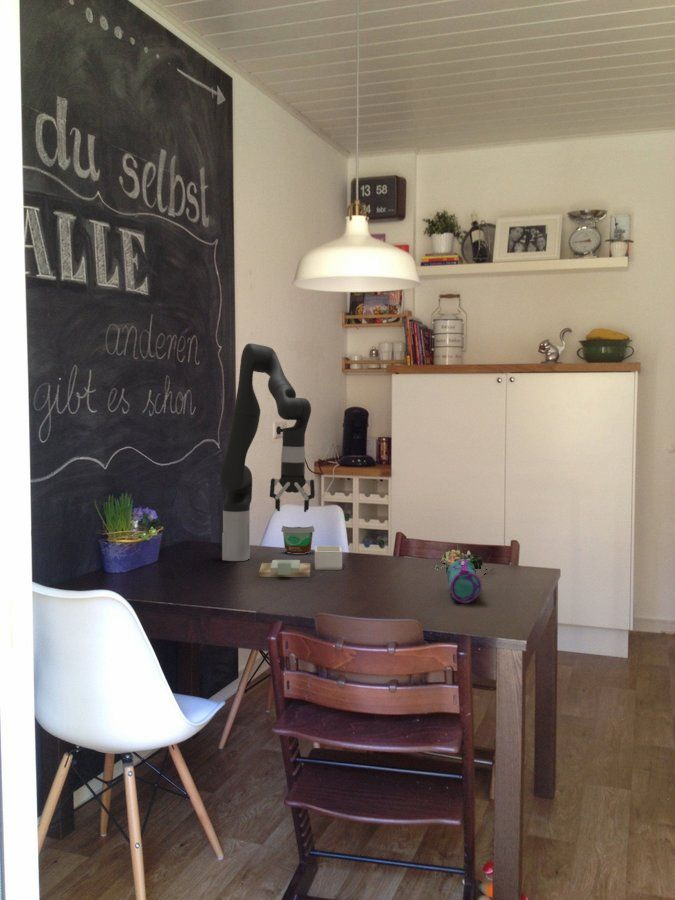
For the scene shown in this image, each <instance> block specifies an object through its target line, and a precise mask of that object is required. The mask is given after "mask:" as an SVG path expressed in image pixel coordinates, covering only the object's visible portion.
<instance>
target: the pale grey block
mask: <svg viewBox="0 0 675 900" xmlns="http://www.w3.org/2000/svg"><path fill="white" fill-rule="evenodd" d="M271 563H272V564H271V567H270V572H278V575H291V572H299V567H300V563H301V560H300V559H272V561H271Z"/></svg>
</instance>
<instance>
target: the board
mask: <svg viewBox="0 0 675 900" xmlns="http://www.w3.org/2000/svg"><path fill="white" fill-rule="evenodd" d="M271 564H272V562H262V563H261V565H260V568H259V571H258V577H259V578H310V577H311V563H310V562H300V567H299V572H291V575H278V572H270V567H271Z"/></svg>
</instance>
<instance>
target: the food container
mask: <svg viewBox="0 0 675 900" xmlns="http://www.w3.org/2000/svg"><path fill="white" fill-rule="evenodd" d="M280 531H281V532H282V534H283V544H284V552H285V551H286V552H291V553H305V552H309V551H312V542H313V534H314V532H315V531H316V530H315V527H314V525H312V526H306V527H305V526H303V527H302V526H292V527H291V526H284V525H282V527H281V530H280Z"/></svg>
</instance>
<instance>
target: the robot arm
mask: <svg viewBox="0 0 675 900" xmlns="http://www.w3.org/2000/svg"><path fill="white" fill-rule="evenodd" d="M275 351H276V350H274V349H273V348H272V347H270V346H266V345H261V344H257V343H253V342H252V343H248V344H245V346H244V348H243V349H242V352H241V357H240V365H239V366H240V367H239V374H238V375H239V376H238V385H237V392H236V397H235V403H234V406H233V407H234V408H233V411H232V416H231V417H232V418H231V424H230V431H229V435H228V436H229V437H228V443H227V449H226V452H225V456H224V460H223V463H222V466H221V470H220V473H219V481H220V485H221V487H222V488H223V489H224V490H225V491H227V494H226V498H225V500H224V501H223V504H222V508H223V509H222V534H221V538H222V539H221V541H222V542H221V543H222V544H221V547H222V548H221V549H222V550H221V558H222V559H221V560H222V561H227V562H243V561H244V562H245V561H248V559H249V560H250V559H251V558H250V554H251V553H250V551H251V550H250V546H251V545H250V536H251V535H250V534H251V532H250V531H251V530H250V526H251V525H250V522H251V519H250V518H251V517H250V516H251V515H250V511H251V509H250V506H251V502H252V497H253V476H252V471H251V469H250V468H249V467H248V466H247V465H245V464H246V459H247V458H246V457H247V455H248V452H249V449H250V447H251V444H252V442H253V440H254V438H255V437H256V433H257V431H258V428H259V424H260V423H259V422H260V418H261V406H260V404H259V400H258V399H257V396H256V393H255V390H254V384H253V379H254V378H253V377H254V376H253V375H254V372H255V373H261V374H263V373H264V374H266V375H268V376H269V379H268V382H267V387H268V392H269V393H270V395H271V396H272V398H273V399H274V401H275V403H276V408H277V414H278V417H280V418H281V419H283V420H286V421H295V423H294V424H293V426H290V427H286V428H283V430H282V444H281V445H282V446H281V447H282V448H281V454H280V455H281V456H280V461H281V464H280V478H275V477H272V478H271V479H270V486H269V487H270V488H269V497H270V498H272V499H274V500H275V501H274V502H275V505H274V507H275V510H276V511H277V512H280V511H281V499H280V498H281V497H282V495H283V494H284V493H285V492H286V493H288V494H289V493H294V494H296V493H300V495H301V496H302V497H303V498H304V501H303V503H304V505H303V506H304V507H303V513H307V511H309V508H310V500H312V499H315V496H316V495H315V493H316V491H315V479H314V478H311V479H306V478H305V477H306V476H305V473H306V471H305V470H306V469H305V467H306V448H305V445H306V443H305V441H306V432H307V428H308V424H309V420H310V417H311V412H312V405H311V402H310V401H309V400H308V399H307V398H303V397H297V393H296V391H295V388H294V387H293V386H292V384H291V383H290V382H289V380H288V379H287V377H286V375H285V373H284V371H283V368H282V367H283V366H282V365H281V362H280V360H279V357H278V355H277V353H276V352H275ZM278 484H280V486H281V487H282V488H281V489H280V491H278V493H277V494H276V493H275V487H276V486H277V485H278ZM306 484H307V486H308V487H309V488H310V490H309V491H310V492H309V493H310V494H308V493H307V492H306V490H305V489H304V486H305V485H306Z"/></svg>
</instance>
